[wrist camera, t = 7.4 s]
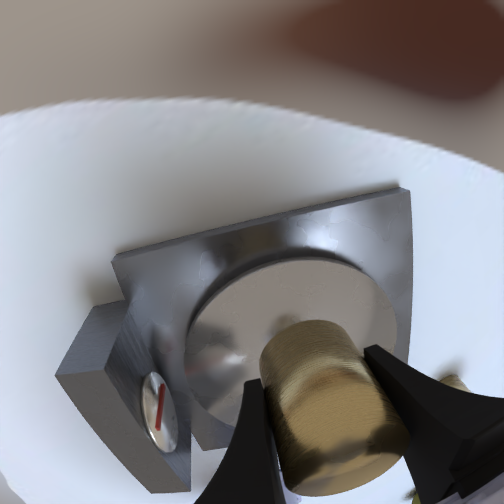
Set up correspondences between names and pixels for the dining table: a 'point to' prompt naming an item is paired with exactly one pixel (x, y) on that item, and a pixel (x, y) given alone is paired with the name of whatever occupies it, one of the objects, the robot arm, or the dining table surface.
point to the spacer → (327, 411)
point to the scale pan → (277, 322)
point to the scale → (189, 304)
